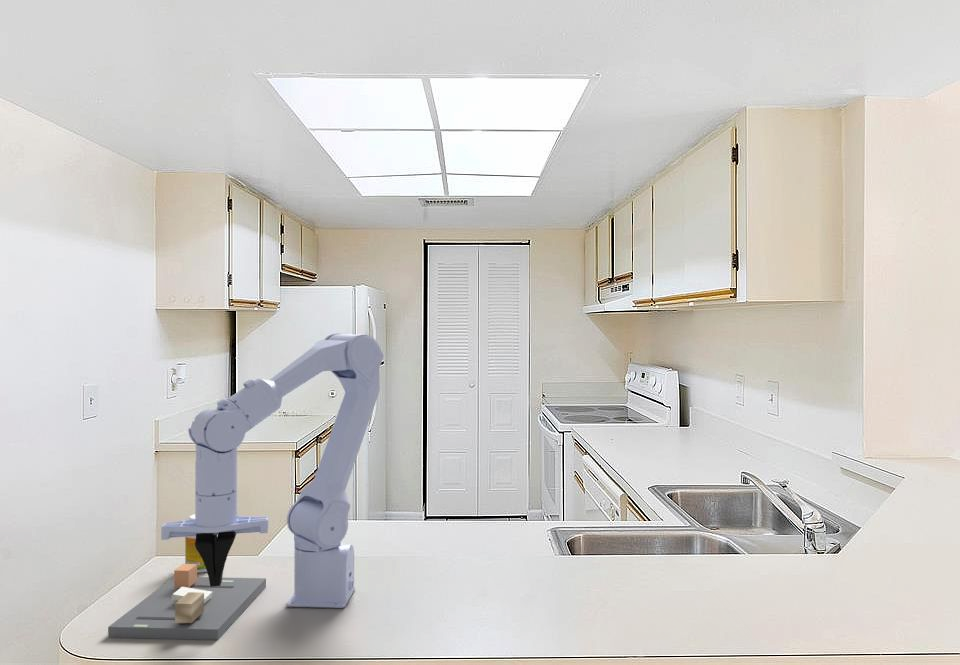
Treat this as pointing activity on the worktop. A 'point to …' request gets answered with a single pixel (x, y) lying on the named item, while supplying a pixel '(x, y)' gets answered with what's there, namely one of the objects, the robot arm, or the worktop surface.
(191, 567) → the peach slider
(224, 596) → the switch panel
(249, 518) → the robot arm
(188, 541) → the supplement bottle
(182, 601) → the tan cardboard carton
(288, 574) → the worktop surface
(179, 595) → the off-white rocker
